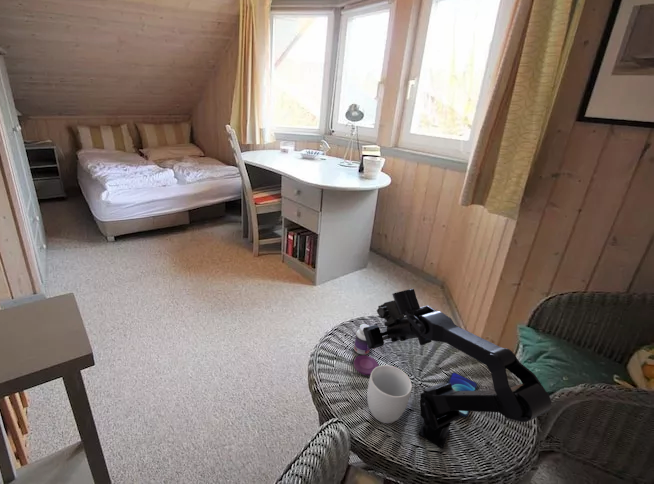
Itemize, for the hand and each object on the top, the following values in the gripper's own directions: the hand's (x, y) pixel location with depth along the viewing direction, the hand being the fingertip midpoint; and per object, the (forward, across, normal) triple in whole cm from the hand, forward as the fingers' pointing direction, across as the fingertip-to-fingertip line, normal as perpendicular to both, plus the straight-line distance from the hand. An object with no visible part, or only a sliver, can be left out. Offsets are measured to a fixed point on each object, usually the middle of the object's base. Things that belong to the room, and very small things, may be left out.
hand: (377, 333), depth 114 cm
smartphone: (-6, -17, +23) cm, 29 cm away
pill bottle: (+13, 0, +5) cm, 14 cm away
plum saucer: (+8, +3, +9) cm, 13 cm away
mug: (-3, +8, +21) cm, 23 cm away
